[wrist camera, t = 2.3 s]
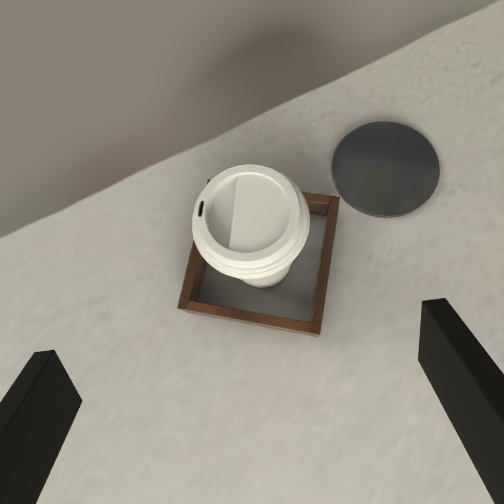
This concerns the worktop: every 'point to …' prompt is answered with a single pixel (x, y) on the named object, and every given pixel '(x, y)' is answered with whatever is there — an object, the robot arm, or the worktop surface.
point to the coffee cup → (251, 224)
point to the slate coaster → (385, 169)
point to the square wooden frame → (190, 305)
